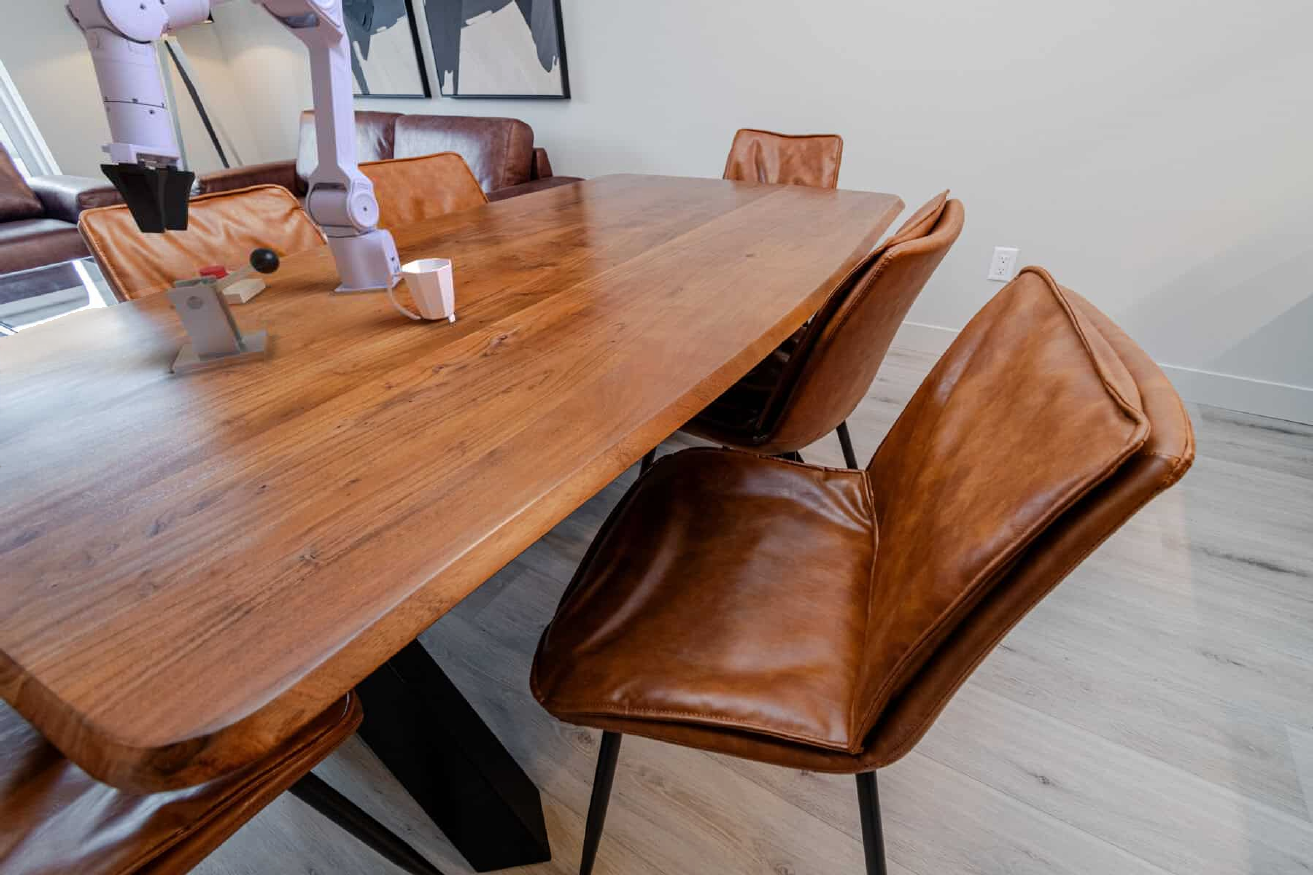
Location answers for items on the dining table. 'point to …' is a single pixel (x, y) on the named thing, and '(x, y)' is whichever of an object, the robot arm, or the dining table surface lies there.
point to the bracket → (211, 327)
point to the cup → (427, 288)
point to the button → (214, 271)
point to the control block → (242, 290)
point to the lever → (249, 268)
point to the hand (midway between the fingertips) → (165, 231)
